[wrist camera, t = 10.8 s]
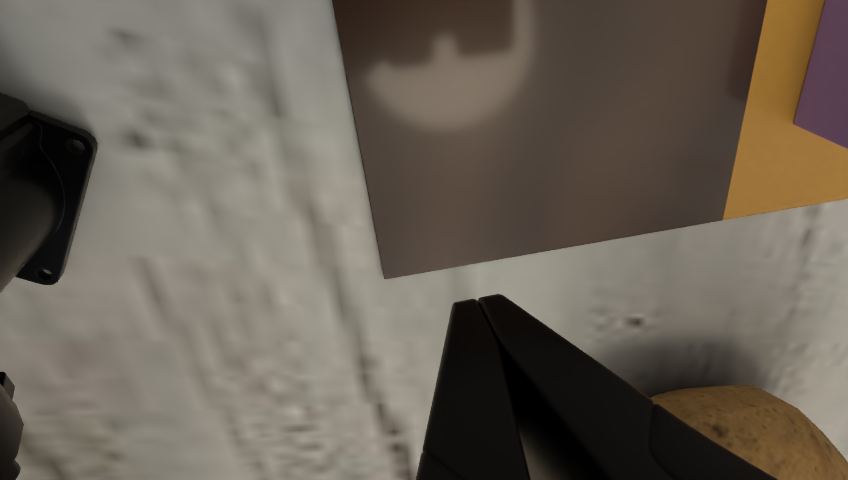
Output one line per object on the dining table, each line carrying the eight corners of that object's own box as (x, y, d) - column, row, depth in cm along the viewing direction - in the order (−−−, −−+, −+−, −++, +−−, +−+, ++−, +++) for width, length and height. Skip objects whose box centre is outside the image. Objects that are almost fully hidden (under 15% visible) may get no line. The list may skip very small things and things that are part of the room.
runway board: (384, 276, 23) (384, 279, 23) (310, -116, 16) (310, -116, 15) (720, 218, 24) (722, 220, 24) (799, -179, 16) (804, -180, 16)
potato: (645, 308, 26) (756, 447, 19) (820, 385, 31) (957, 517, 24) (531, 438, 30) (589, 592, 23) (703, 488, 35) (793, 627, 28)
